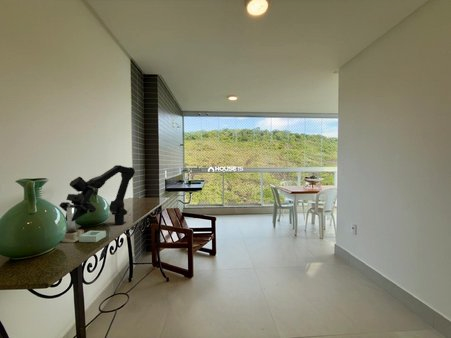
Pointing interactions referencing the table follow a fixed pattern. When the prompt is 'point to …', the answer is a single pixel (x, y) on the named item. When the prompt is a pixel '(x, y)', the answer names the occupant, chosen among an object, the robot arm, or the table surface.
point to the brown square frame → (73, 236)
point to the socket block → (92, 236)
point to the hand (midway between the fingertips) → (68, 220)
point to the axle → (70, 223)
